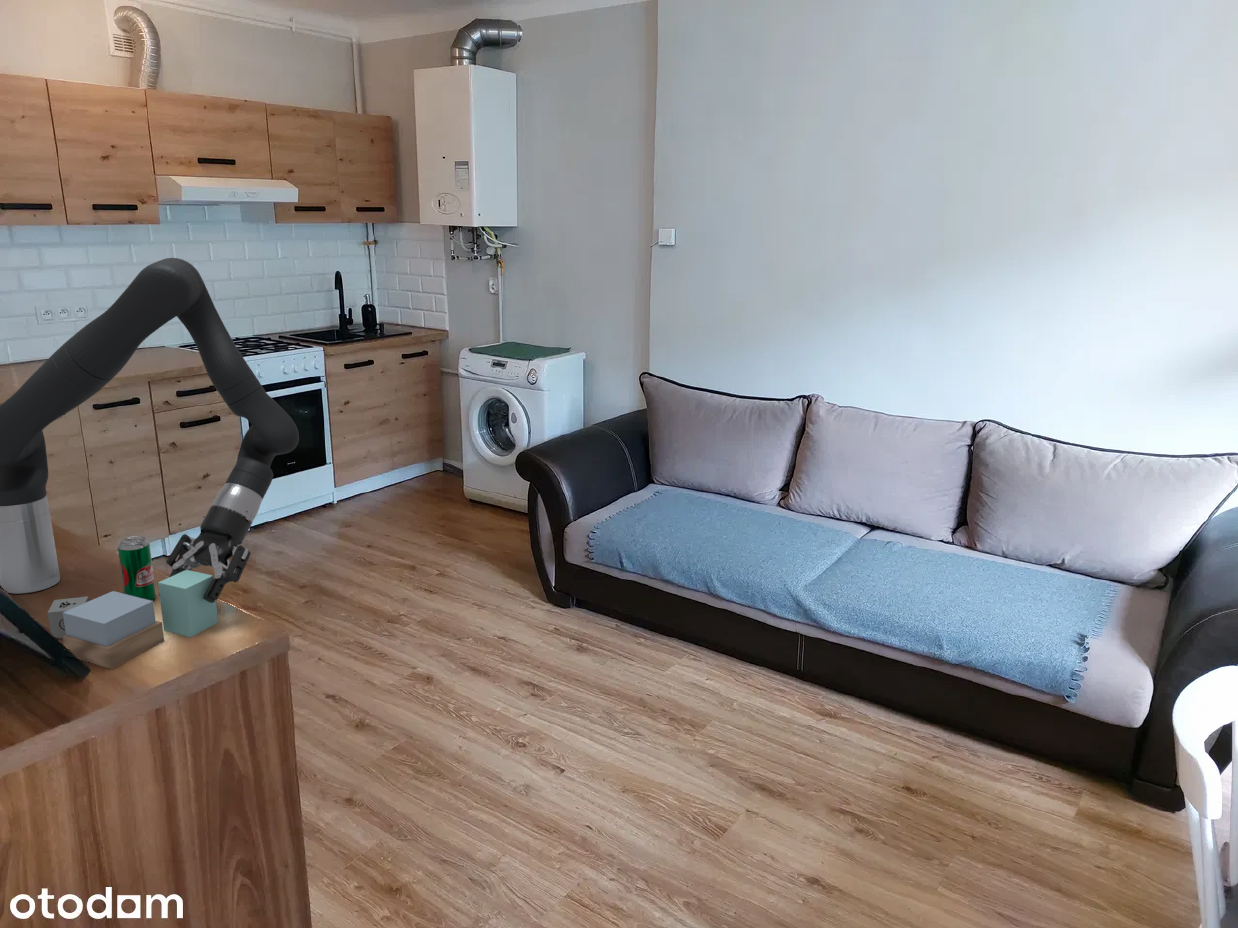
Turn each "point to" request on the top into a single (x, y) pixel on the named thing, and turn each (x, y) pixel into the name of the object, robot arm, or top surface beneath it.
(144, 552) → the soda can
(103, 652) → the walnut block
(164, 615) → the teal square block
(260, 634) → the top surface
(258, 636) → the top surface
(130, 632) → the slate block
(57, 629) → the dice cube
